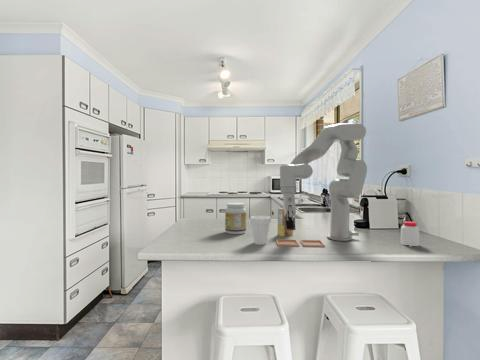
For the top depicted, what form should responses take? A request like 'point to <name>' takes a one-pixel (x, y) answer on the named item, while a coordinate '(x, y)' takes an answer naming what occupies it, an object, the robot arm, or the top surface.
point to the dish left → (312, 243)
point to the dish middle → (287, 242)
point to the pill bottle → (410, 234)
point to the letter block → (286, 223)
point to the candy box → (282, 224)
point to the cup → (260, 229)
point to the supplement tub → (235, 218)
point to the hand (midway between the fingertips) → (289, 226)
